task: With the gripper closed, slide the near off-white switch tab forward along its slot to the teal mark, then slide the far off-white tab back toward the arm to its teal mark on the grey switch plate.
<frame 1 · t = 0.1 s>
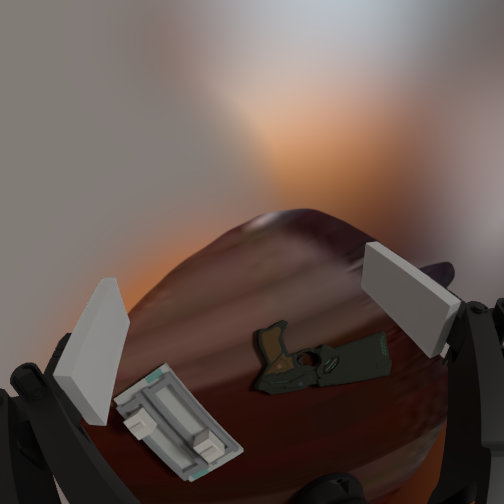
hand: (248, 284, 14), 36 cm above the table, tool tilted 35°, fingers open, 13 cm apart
switch plate: (178, 426, 42), on the table
firearm: (325, 353, 49), on the table
tab a: (209, 445, 38), point 4 cm above the table, slide at 0.0 cm
tab b: (141, 423, 37), point 4 cm above the table, slide at 10.0 cm
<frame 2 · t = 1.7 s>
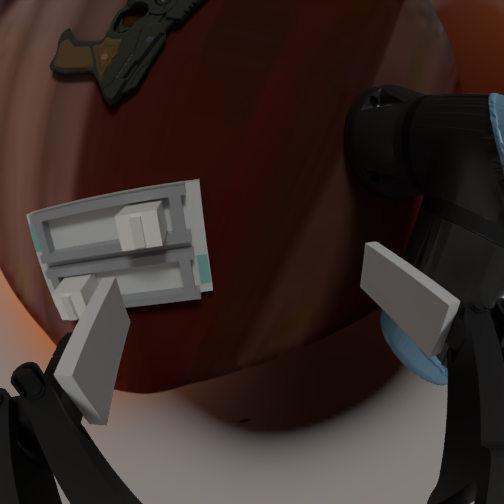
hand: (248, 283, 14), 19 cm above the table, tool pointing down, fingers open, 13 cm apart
switch plate: (115, 247, 30), on the table
tab a: (142, 224, 25), point 4 cm above the table, slide at 0.0 cm
tab b: (77, 296, 27), point 4 cm above the table, slide at 10.0 cm
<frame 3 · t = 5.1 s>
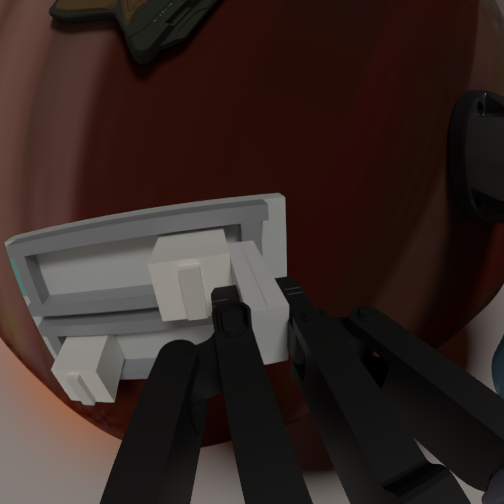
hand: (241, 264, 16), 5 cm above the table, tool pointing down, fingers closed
switch plate: (142, 293, 20), on the table
tab a: (193, 270, 16), point 4 cm above the table, slide at 0.3 cm, touching gripper
tab b: (89, 366, 17), point 4 cm above the table, slide at 10.0 cm
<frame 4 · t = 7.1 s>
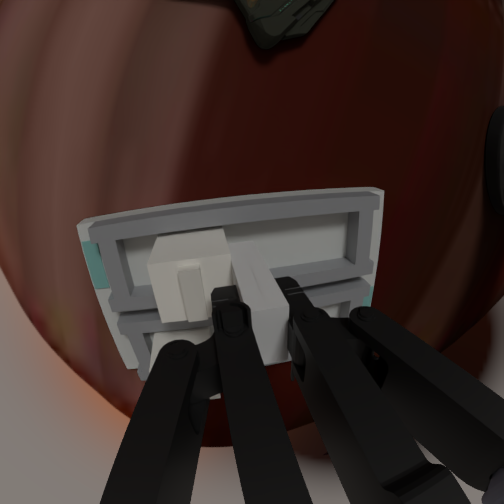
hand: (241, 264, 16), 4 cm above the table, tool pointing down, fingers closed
switch plate: (242, 280, 21), on the table
tab a: (193, 271, 15), point 4 cm above the table, slide at 8.2 cm, touching gripper
tab b: (185, 363, 18), point 4 cm above the table, slide at 10.0 cm
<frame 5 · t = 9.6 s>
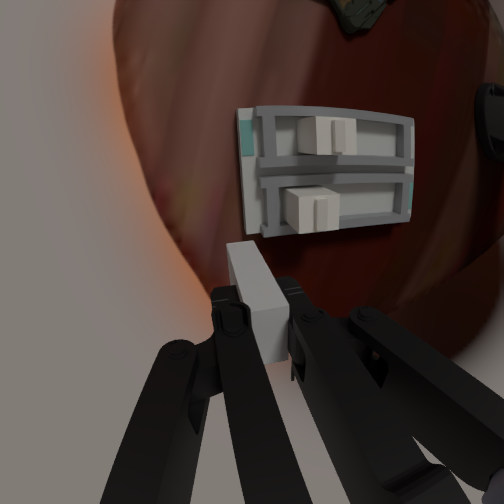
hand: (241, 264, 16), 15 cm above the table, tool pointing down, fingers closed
switch plate: (336, 166, 30), on the table
tab a: (326, 135, 24), point 4 cm above the table, slide at 8.2 cm
tab b: (310, 207, 26), point 4 cm above the table, slide at 10.0 cm
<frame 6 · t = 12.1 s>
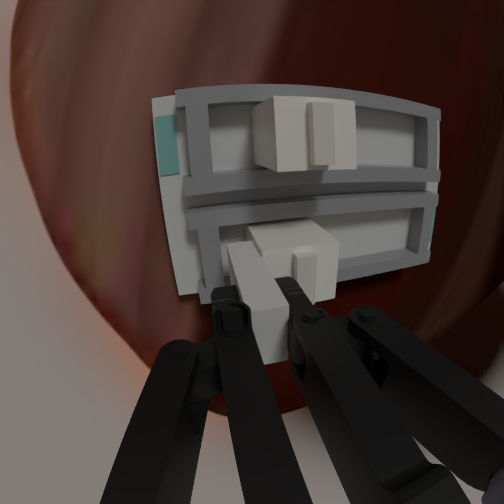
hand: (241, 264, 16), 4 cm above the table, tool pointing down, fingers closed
switch plate: (322, 182, 19), on the table
tab a: (301, 133, 13), point 4 cm above the table, slide at 8.2 cm
tab b: (289, 259, 16), point 4 cm above the table, slide at 9.1 cm, touching gripper
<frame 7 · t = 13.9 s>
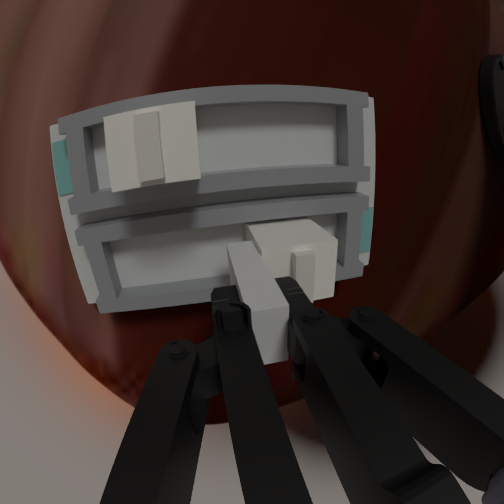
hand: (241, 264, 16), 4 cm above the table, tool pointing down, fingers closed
switch plate: (220, 190, 18), on the table
tab a: (157, 145, 12), point 4 cm above the table, slide at 8.2 cm
tab b: (288, 258, 16), point 4 cm above the table, slide at 1.8 cm, touching gripper
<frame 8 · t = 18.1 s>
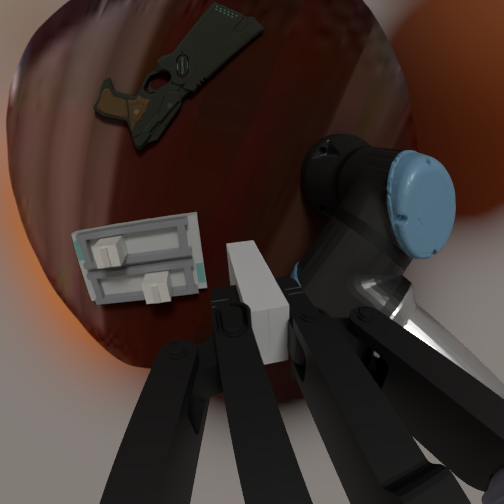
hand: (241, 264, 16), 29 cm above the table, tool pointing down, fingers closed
switch plate: (138, 257, 44), on the table
firearm: (172, 63, 34), on the table
tab a: (110, 251, 39), point 4 cm above the table, slide at 8.2 cm
tab b: (157, 286, 42), point 4 cm above the table, slide at 1.8 cm
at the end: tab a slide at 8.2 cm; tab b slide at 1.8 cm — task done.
